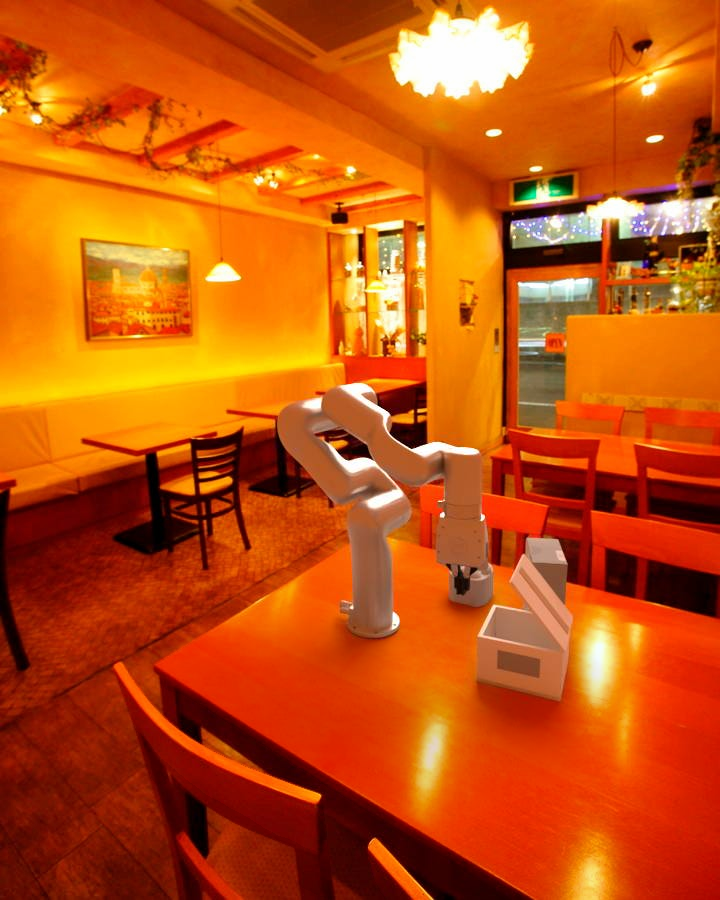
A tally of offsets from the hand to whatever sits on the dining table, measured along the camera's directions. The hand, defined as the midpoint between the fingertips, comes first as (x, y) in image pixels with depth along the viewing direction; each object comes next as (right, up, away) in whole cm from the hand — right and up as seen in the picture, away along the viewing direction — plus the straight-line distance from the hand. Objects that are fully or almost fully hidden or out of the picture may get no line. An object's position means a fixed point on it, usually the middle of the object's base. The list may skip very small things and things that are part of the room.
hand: (462, 592), depth 120 cm
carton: (+12, -16, -2) cm, 20 cm away
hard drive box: (+21, -12, +13) cm, 28 cm away
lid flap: (+14, 0, -7) cm, 16 cm away
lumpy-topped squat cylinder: (+8, -8, +32) cm, 34 cm away
